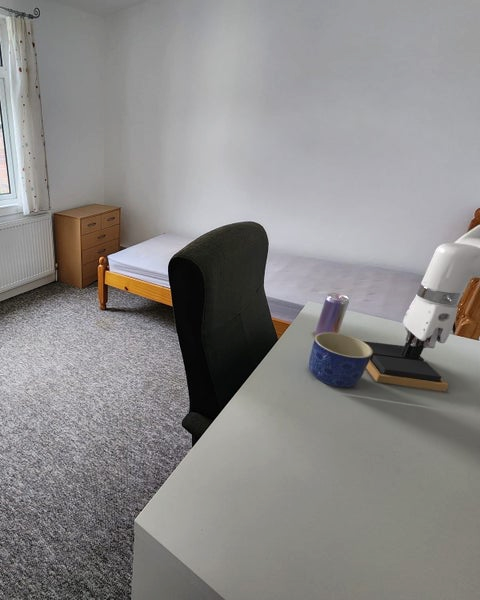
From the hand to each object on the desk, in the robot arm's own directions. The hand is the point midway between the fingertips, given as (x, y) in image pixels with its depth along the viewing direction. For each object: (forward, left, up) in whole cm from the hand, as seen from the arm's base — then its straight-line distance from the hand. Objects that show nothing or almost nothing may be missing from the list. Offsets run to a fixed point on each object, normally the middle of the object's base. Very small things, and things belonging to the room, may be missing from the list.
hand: (409, 357), depth 90 cm
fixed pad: (0, -8, -6) cm, 10 cm away
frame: (0, -4, -7) cm, 8 cm away
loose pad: (0, 0, -6) cm, 6 cm away
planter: (+18, +5, -7) cm, 20 cm away
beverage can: (+13, -18, -7) cm, 23 cm away
